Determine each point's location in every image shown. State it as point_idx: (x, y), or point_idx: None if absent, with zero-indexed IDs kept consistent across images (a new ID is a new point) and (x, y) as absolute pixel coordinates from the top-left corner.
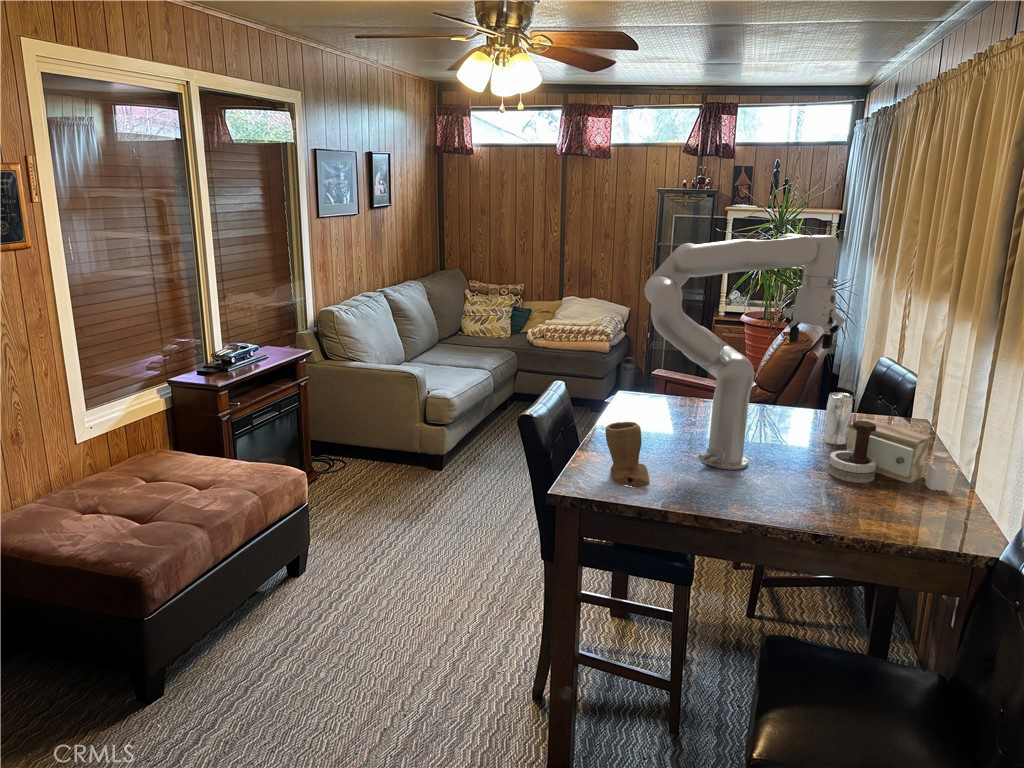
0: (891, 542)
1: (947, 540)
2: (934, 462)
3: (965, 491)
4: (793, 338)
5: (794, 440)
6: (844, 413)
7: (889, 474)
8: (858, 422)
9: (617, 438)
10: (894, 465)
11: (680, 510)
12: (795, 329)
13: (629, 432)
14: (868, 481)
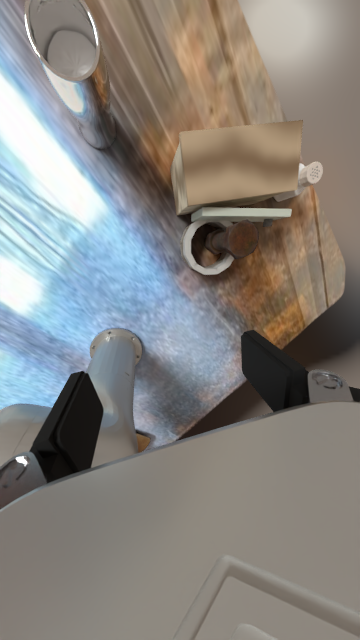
0: (293, 338)
1: (318, 299)
2: (300, 186)
3: (302, 160)
4: (96, 417)
5: (70, 195)
6: (107, 95)
7: (233, 206)
8: (234, 245)
9: None
10: (254, 220)
11: (187, 427)
12: (79, 462)
13: None
14: None
